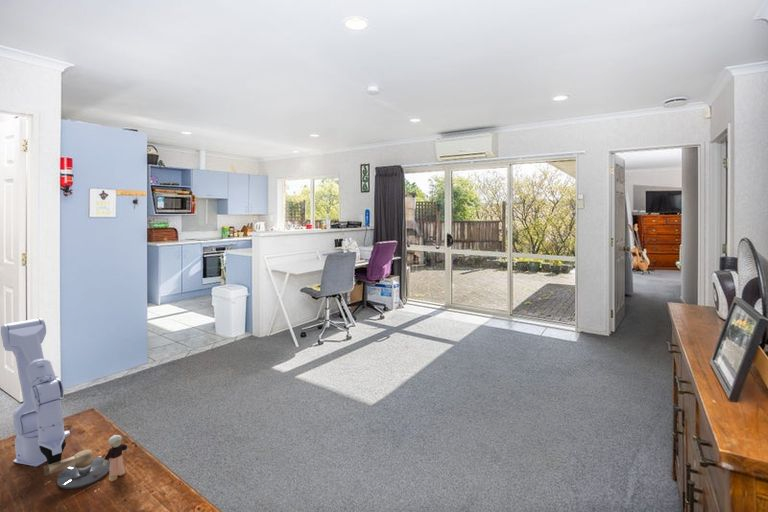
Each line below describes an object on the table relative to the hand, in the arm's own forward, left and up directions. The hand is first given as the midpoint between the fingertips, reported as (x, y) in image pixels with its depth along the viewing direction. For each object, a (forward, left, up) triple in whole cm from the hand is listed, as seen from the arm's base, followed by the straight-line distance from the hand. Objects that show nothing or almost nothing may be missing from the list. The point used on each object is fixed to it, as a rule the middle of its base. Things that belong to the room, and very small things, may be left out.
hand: (54, 466), depth 118 cm
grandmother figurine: (+15, +7, -5) cm, 17 cm away
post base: (+5, +5, -5) cm, 8 cm away
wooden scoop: (+3, +2, -1) cm, 4 cm away
